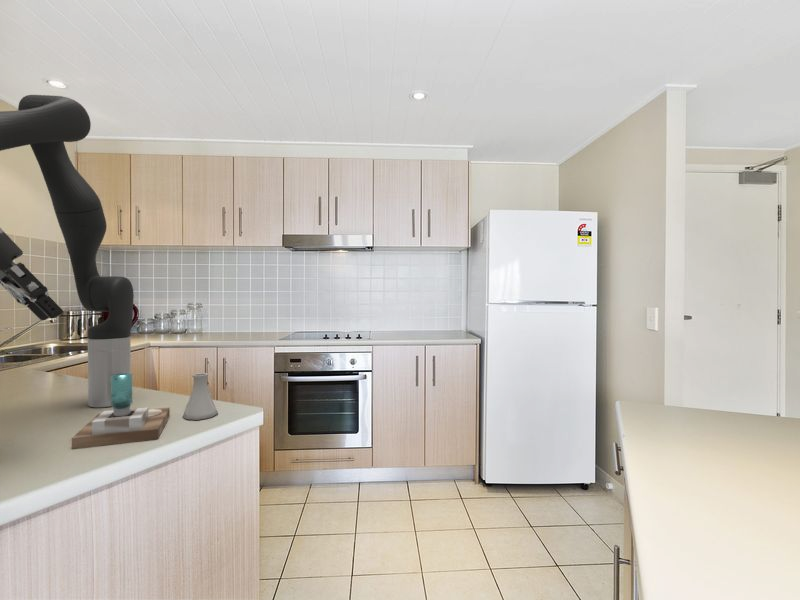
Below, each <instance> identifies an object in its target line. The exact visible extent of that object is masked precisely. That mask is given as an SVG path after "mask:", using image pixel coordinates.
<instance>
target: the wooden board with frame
mask: <svg viewBox="0 0 800 600" xmlns="http://www.w3.org/2000/svg"><path fill="white" fill-rule="evenodd" d="M170 409H171V408H170V406H169V407H159V408H149V407H148V406H146V407H135V408H134V407H133V408H130V416H124V417H114V418H113V409H112V410H103V411H102V412H100V413H97V414H96V415H95V416H94V417H93V418H92V419H91V420H89V422H88V423H87V424H85V425H84V426H83V427H82V428H81V429H80V430H79V431H78V432H76V433H75V434H74V436H72V437H71V450H73V449H82V448H84V449H85V448H92V447H100V446H108V445H109V446H111V445H118V444H127V443H135V442H136V443H137V442H143V441H144V442H147V441H153V440H159V438H160V436H161V434H162V433H163V430H164V428H165V426H166V424H167V422H168V420H169V418H170V416H171V415H170V414H171V412H170V411H171V410H170Z"/></svg>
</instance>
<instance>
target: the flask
mask: <svg viewBox="0 0 800 600" xmlns="http://www.w3.org/2000/svg"><path fill="white" fill-rule="evenodd" d="M191 376H192V378H193V385H192V391H191V393H190V396H189V399H188V401H187V404H186V406H185V409H184V411H183V414H182V418H184V419H185V420H192V421H195V420H196V421H199V420H200V421H201V420H206V419H210V418H213V417H215V416H217V415H218V414H219V412H218V409H217V408H216V405H215V403H214V400H213V398H212V396H211V395H212V394H211V393H210V391H209V390H210V389H209V386H208V377H209V373H208V372H198V373H194V374H192V375H191Z"/></svg>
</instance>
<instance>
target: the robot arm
mask: <svg viewBox="0 0 800 600" xmlns="http://www.w3.org/2000/svg"><path fill="white" fill-rule="evenodd" d="M91 124H92V123H91V118H90V115H89V113H88V111H87V110H86V108H85V107H84V106H83V105H82V104H81V103H79V102H78V101H76V100H75V99H73V98H70V97H67V96H62V95H48V94H47V95H46V94H27V95H25V96H23V97H22V98H21V99H20V101H19V102H18V108H17V110H7V111H6V110H5V111H4V110H3V111H2V110H1V111H0V152H1V151H2V152H3V151H6V150H10V149H14V148H19V147H24V146H30V149H31V151H32V152H33V154H34V156H35V159H36V161H37V164H38V166H39V168H40V172H41V174H42V177H43V180H44V182H45V185H46V187H47V190H48V193H49V196H50V199H51V203H52V206H53V210H54V214H55V216H56V219H57V223H58V226H59V228H60V230H61V231H60V232H61V233H62V237H63V238H64V242H65V245H66V249H67V252H68V256H69V260H70V263H71V266H72V267H71V268H72V272H73V277H74V282H75V283H74V284H75V288H76V293H77V295H78V300H79V302H80V304H81V306H82V307H83V308H84V309H85V310H87V311H89V312H95V313H96V312H99V313H100V312H102V313H103V312H104V313H105V312H108V317H107V319H105V320H104V321H102V322H101V323H98V324H95V325H92V326H91V327H89V328H88V329H87V400H88V401H87V406H88V407H90V408H108V407H112V406H111V375H113V374H119V373H132V371H131V366H132V365H131V364H132V363H131V361H132V360H131V357H132V354H131V350H132V349H131V330H132V327H133V313H134V312H133V311H134V298H135V297H134V287H133V285H132V281H131V280H130V279H129V278H127V277H125V276H109V275H108V276H106V275H105V276H104V275H103V276H100V273H99V271H98V267H97V261H96V259H97V254H98V251H99V248H100V246H101V244H102V242H103V239H104V238H105V235H106V232H107V220H106V217H105V213H104V209H103V205H102V201H101V199H100V198H99V195H97V193H96V192H95V190H94V189H93V188H92V186H91V185H90V184H89V183H88V182H87V180H86V179H85V178H84V177H83V176H82V174H80V172H79V171H78V170H77V169H76V168H75V166H74V165H73V163H72V160H71V158H70V156H69V153H68V151H67V148H66V146H65V143H73V142H74V143H75V142H79V141H82V140H84V139H85V138H87V136H88V135H89V133H90V131H91V127H92V126H91ZM22 255H24V251H23V250H22V249H21V248H20V247H19V246H18V245H17V243H15V242H14V240H13V239H11V237H10V236H9V235H8V234H7V233H6V232H5V231H4V230H3V229H2V227H0V286H1V287H2V288H3V289H5V290H6V292H8V294H9V295H10V296H11V297H13V298H14V299H15V301H16V302H17V303H18V304H20V305H22V306H24V307H27V308H28V309H29V310H30V311H31V312H32V314H34V316H36V317H37V319H39V320H40V321H46V320H48V319H52V320H53V319H55V318H57V317H59V316H60V315H62V314H63V313H64V310H63V309H62V308H61V306H59V305H58V304H57V302H56V301H55V300H53V299H52V297H50V295H49V292H48V291H49V290H48V288H47V286H45V285H44V284H43V283H42V282H41V281H40V280H39V279H38V278H37V277H36V276H35V275H34V274H33V273H32V272H31V271H30V270H29V268H27V267H26V266H25V264H24V263H22V262H21V261H20V262H18V263H15V262H14V260H17V259H18V258H20V257H22Z"/></svg>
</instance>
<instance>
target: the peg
mask: <svg viewBox="0 0 800 600" xmlns="http://www.w3.org/2000/svg"><path fill="white" fill-rule="evenodd" d="M132 404H133V373H132V372H131V373H119V374H113V375H111V406H110V407H113V409H112V410H113V418H114V417H124V416H130V409H131V405H132Z"/></svg>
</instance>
